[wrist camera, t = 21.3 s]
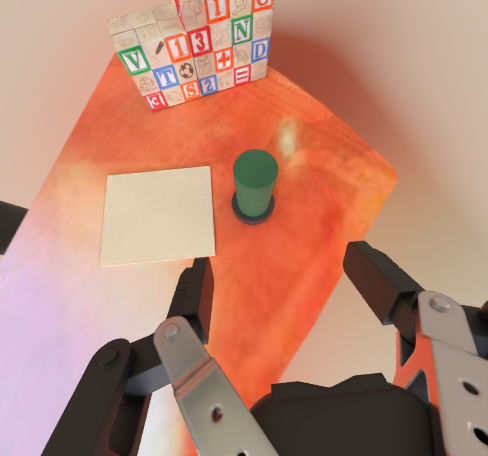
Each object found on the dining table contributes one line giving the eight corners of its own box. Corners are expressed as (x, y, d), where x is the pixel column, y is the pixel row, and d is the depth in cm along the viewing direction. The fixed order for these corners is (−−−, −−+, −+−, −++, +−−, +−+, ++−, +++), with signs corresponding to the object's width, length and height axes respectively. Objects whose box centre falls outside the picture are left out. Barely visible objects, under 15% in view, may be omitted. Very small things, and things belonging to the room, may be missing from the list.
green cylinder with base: (234, 226, 27) (227, 200, 18) (231, 188, 29) (222, 145, 19) (275, 222, 27) (291, 194, 18) (270, 185, 29) (281, 139, 19)
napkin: (100, 266, 26) (99, 266, 26) (108, 176, 30) (107, 175, 29) (215, 255, 26) (215, 255, 26) (210, 166, 30) (209, 165, 29)
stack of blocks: (151, 114, 32) (95, 19, 20) (142, 87, 34) (85, -16, 22) (267, 77, 34) (277, -31, 22) (253, 53, 35) (257, -61, 23)
